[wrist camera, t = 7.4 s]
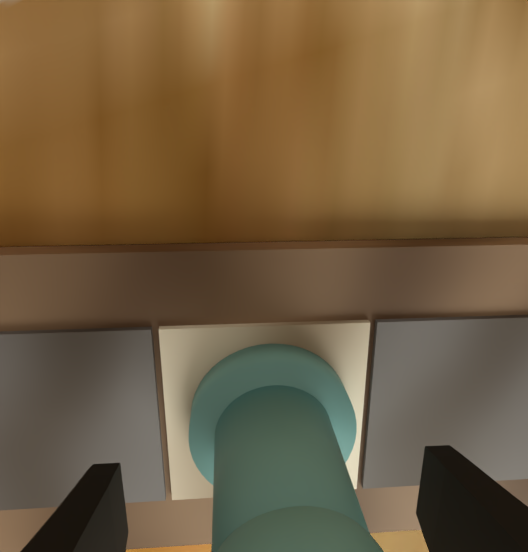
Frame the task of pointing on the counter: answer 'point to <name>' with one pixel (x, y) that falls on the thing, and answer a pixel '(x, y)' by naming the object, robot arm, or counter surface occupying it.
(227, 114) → the counter surface
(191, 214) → the counter surface
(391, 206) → the counter surface
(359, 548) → the pawn
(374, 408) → the board
